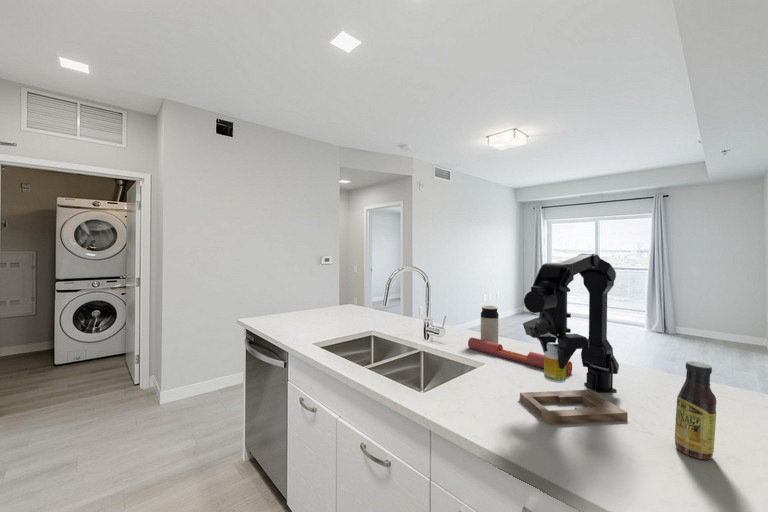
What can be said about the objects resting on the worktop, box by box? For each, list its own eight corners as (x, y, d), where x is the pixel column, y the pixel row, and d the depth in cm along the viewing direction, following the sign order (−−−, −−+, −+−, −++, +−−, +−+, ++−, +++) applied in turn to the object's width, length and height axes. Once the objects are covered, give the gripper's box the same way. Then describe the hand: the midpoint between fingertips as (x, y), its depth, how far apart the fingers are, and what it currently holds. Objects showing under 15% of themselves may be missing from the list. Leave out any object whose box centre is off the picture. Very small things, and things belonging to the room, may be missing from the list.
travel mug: (500, 347, 148) (501, 308, 148) (483, 347, 148) (483, 308, 148) (495, 342, 156) (495, 305, 156) (478, 342, 156) (478, 305, 156)
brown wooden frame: (588, 396, 98) (588, 389, 98) (627, 420, 84) (627, 412, 84) (519, 399, 96) (519, 392, 96) (548, 424, 82) (548, 416, 82)
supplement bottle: (557, 384, 85) (558, 348, 85) (539, 377, 90) (539, 343, 90) (570, 380, 88) (570, 345, 88) (551, 374, 93) (552, 340, 93)
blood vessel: (467, 349, 146) (467, 338, 146) (474, 347, 149) (474, 336, 149) (567, 377, 114) (567, 363, 114) (572, 373, 117) (572, 360, 117)
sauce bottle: (666, 444, 74) (668, 358, 73) (691, 443, 74) (693, 357, 74) (697, 463, 67) (698, 369, 67) (724, 461, 68) (726, 368, 67)
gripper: (510, 303, 97) (510, 355, 97) (548, 316, 79) (548, 379, 79) (545, 303, 98) (544, 353, 99) (590, 315, 80) (590, 377, 80)
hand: (554, 364), depth 89 cm, fingers closed on supplement bottle, 5 cm apart
